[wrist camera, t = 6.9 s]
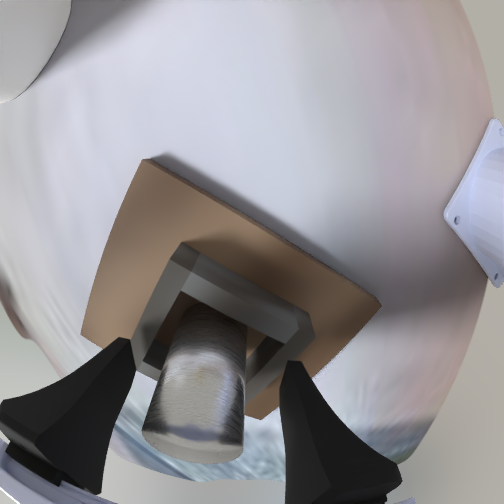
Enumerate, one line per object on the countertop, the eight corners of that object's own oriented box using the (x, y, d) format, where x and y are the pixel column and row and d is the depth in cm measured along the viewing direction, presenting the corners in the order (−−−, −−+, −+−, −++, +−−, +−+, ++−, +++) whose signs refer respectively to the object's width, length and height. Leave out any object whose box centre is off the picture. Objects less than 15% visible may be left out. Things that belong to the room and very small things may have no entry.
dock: (376, 298, 14) (396, 327, 12) (260, 411, 18) (261, 441, 15) (148, 158, 12) (122, 163, 9) (85, 327, 15) (66, 353, 13)
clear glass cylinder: (249, 304, 13) (246, 426, 7) (244, 356, 15) (240, 467, 8) (178, 297, 13) (131, 409, 7) (182, 350, 15) (152, 454, 8)
